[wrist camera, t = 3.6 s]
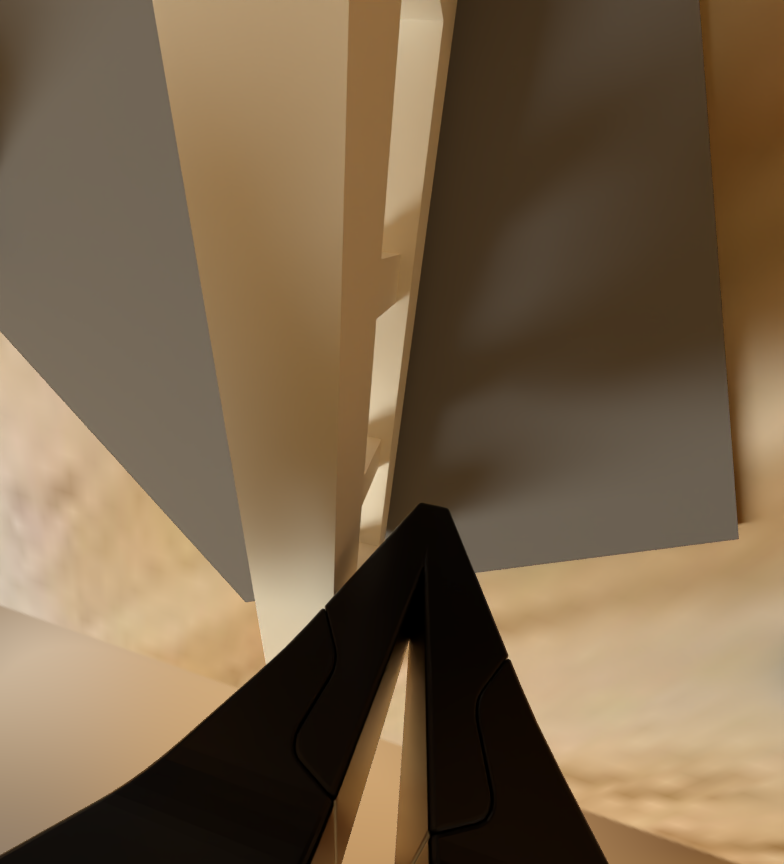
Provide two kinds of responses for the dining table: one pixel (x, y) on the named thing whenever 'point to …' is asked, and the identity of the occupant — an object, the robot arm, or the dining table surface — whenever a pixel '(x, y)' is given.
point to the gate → (308, 260)
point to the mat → (438, 288)
